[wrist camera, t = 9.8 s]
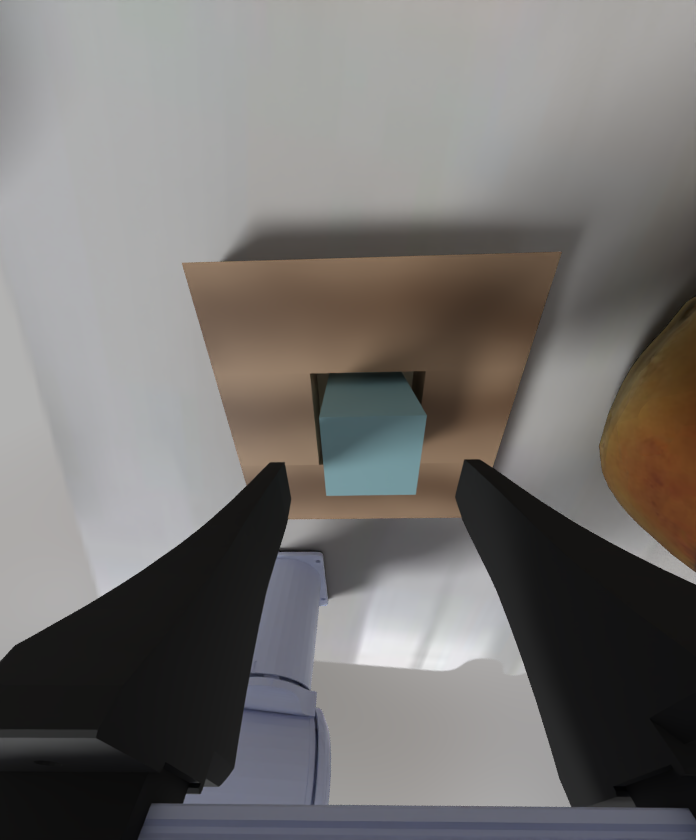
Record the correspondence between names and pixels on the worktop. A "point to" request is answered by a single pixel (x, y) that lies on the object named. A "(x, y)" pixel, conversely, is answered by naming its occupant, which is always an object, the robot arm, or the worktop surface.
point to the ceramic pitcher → (658, 439)
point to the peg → (371, 434)
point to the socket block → (370, 359)
